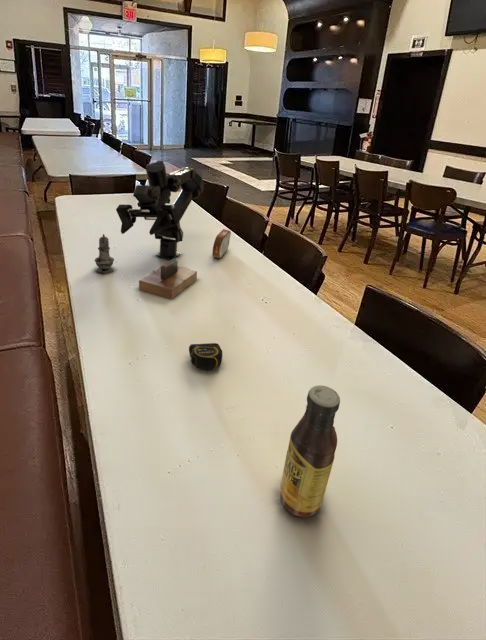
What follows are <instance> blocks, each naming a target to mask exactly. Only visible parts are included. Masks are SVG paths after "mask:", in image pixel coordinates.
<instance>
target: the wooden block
mask: <svg viewBox="0 0 486 640" xmlns="http://www.w3.org/2000/svg"><path fill="white" fill-rule="evenodd" d="M197 278H198V271H197V270H194V269H190V268H187V267H183V266H179V265H177V272H176V273H175V274H173V275H172V276H170V277H169V278H168V279H166V280H163V279H161V266H160V267H158V268H156V269H155V270H152V272H150V273H149V274H146V275H145V276H143V277H142V278H141V279H139V280H138V290H139V291H142V292H146V293H149V294H153V295H157V296H159V297H163V298H167V299H171V300H173V299H174V298H176V297H177V296H178V295H179V294H181V293H182V292H183V291H184V290H185V289H187V288H189V286H191V285H192V284H193V283H194V282H196V281H197Z"/></svg>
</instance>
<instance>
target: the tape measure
mask: <svg viewBox="0 0 486 640" xmlns="http://www.w3.org/2000/svg"><path fill="white" fill-rule="evenodd" d="M188 353H189V357H190V361H191V364H192V366H193V367H195V368H196V369H198V370H202V371H212V370H215V369H218V368H220V366H221V365H222V362H223V349H222V348H221V346H220V344H219V343H216V342H211V343H210V342H208V343H191V344H190V345H189V346H188Z"/></svg>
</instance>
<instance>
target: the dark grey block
mask: <svg viewBox="0 0 486 640" xmlns="http://www.w3.org/2000/svg"><path fill="white" fill-rule="evenodd" d="M178 261H179V260H178V259H176V258H174V259H172V260H170V259H169V260H168V261H167V262H165V263H164V264H161V266H160V267H161V279H163V280H166V279H168V278H169V277H170V276H172V275H173V274H175V273H176V272H177V266H179V265H178V264H179V262H178Z"/></svg>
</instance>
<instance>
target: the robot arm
mask: <svg viewBox="0 0 486 640" xmlns="http://www.w3.org/2000/svg"><path fill="white" fill-rule="evenodd" d="M145 171H146V176H147V182H148V185H147V184H138V185H137V184H136V185H135V187H134V191H133V194H132V196H133V197H134V198H135V199H136V200H137V204H136V205H137V207H138V208H133V205H132V204H119V205H118V206H117V207H116V208H115V211H116V214H117V215H118V218H119V220H120V222H121V226H120V233H121V234H122V235H124V234H126V233H127V232H128V231H129V230H131V228H132V227H134V226H135V223H136V222H137V218H144V221H154V222H153V223H152V225H151V227H150V229H149V231H148V233H149V235H150V236H152V235H154V239H155V240H159V252H158V253H156V254H155V256H156V257H159V258H161V259H162V258H163V259H167V260H169V261H170V260H172V259H176V258H178V257H179V256H181V252H178V243H179V242H183V238H184V231H183V229H182V226H181V220H182V218H183V217H184V214H185V213H186V212H187V209H188V208H189V206H190V204H191V202H192V201H193V200H194V199H197V198H199V197H200V196H201V194H202V193H203V192H204V190H205V182H204V179H203V177H202V176H201V175H199V173H198V172H197V171H196V169H195V168H193V167H187V166H183V167H180V168H179V169H177V170H175V171H173V172H167V170H166V164H165V163H164V161H163V160H156V161H154V162H150V163H148V164H146V166H145ZM179 190H180V193H179V195H178V196H177V198H176V199H175V201H174V203H173V204H171V196H172V193H177V192H179Z"/></svg>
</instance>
